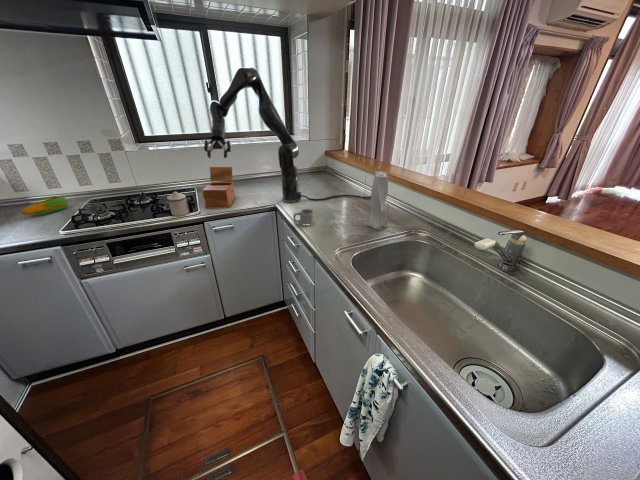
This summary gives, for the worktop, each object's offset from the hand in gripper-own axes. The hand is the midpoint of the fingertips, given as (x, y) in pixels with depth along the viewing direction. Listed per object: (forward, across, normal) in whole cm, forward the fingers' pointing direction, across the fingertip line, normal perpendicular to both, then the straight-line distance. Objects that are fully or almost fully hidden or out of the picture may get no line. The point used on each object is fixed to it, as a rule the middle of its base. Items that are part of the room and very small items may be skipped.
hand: (217, 157), depth 152 cm
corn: (+29, -88, +8) cm, 93 cm away
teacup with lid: (+32, -19, +3) cm, 38 cm away
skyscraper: (+50, +82, -19) cm, 98 cm away
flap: (+6, 0, +9) cm, 11 cm away
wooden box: (+23, 0, +12) cm, 25 cm away
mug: (+46, +47, -14) cm, 67 cm away
